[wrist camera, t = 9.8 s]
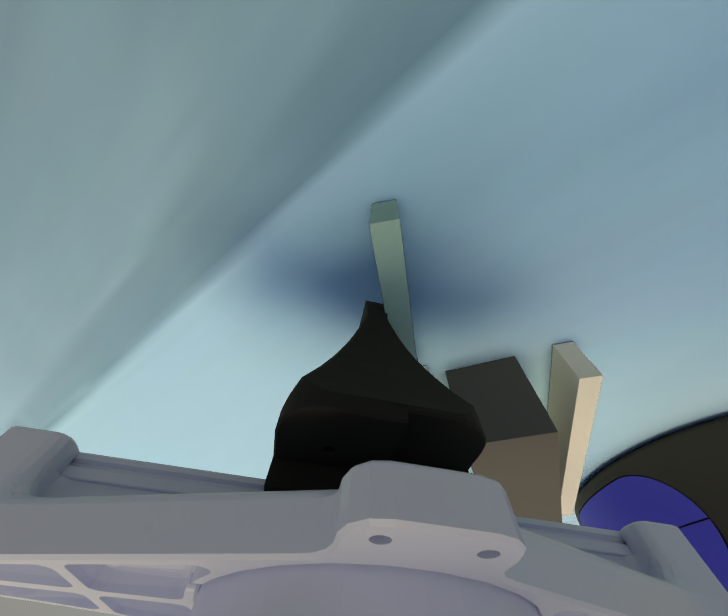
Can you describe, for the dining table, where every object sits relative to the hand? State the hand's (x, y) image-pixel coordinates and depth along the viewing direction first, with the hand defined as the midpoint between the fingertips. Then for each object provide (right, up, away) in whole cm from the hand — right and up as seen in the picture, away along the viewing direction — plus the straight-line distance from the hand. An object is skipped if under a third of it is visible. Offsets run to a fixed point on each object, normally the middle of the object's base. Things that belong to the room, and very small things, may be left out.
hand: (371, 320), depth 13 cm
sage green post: (+1, +1, +1) cm, 2 cm away
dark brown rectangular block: (+9, -7, +7) cm, 13 cm away
